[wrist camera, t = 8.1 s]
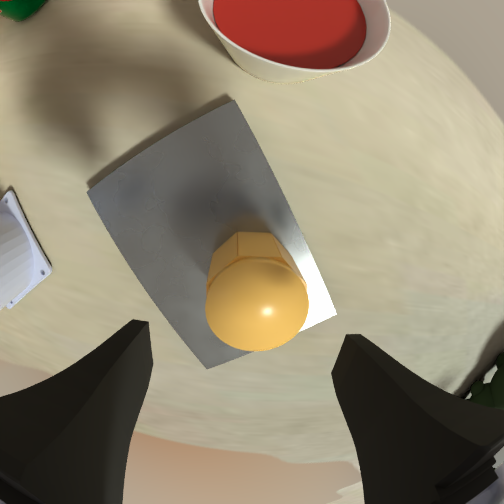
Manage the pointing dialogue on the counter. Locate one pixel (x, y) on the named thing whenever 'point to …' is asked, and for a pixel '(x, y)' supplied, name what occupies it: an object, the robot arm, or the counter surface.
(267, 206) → the plate
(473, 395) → the toy figurine
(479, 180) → the counter surface
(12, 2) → the soda can
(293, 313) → the orange cap
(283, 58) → the candle
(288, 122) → the counter surface
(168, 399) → the counter surface
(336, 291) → the counter surface
